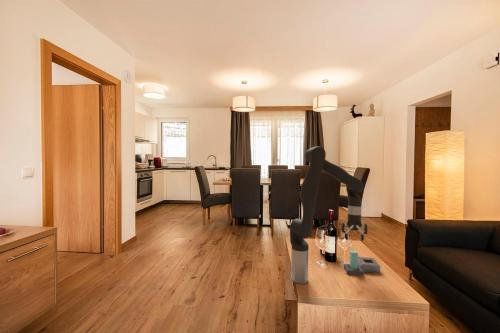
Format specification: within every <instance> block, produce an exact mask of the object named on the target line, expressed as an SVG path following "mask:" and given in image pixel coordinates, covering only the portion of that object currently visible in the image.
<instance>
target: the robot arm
mask: <svg viewBox="0 0 500 333" xmlns="http://www.w3.org/2000/svg"><path fill="white" fill-rule="evenodd" d="M326 155H327V153H326V150H325V148H324V147H323V146H320V145H319V146H313V147H310V148H309V149H307V150H306V151H305V153H304V157H305V160H306V161H307V162H308V163H309V169H308V172H307V173H306V175H305V177H304V178H303V180H302V183H301V187H300V191H299V199H300V202H301V206H302V211H303V212H302V218H301V219H300V218H295V219H292V221H291V222H290V226H289V240H290V241H289V242H290V244H291V245H290V246H291V262H290V264H291V265H290V272H291V273H290V280H291V281H292V282H293V283H294V284H295V283H296V284H304V285H305V284H306V283H308V282H309V244H308V242H307V241H306V240H307V239H309V237H310V236H311V235H312V231H313V227H314V226H313V225H314V215H315V208H316V201H317V196H318V192H319V186H320V185H319V184H320V181H321V175H322V170H323V171H324V172H326V173H327V174H329V175H330V176H331V177H333V178H334V179H336V180H337V181H338V182H339V183H341V184H343V185H345V188H346V189H345V191H346V194H347V198H348V200H347V202H348V203H347V222H344V221H342V222H341V228H340V231H341V233H342V234H343V233H344V234H343V235H344V239H345V240H346V241H348V233H349V232H350V231H359V233H360V238H359V239H360V241H361V242H363V241H364V240H365V235H367V234H368V224H367V223H366V222H364V223H363V222H362V198H361V196H360V195H359V194H358V193H361V192H362V191H364V188H365V185H364V183H363V181H362V180H360V179H359V178H357V177H355V176H353V175H352V174H350V173H349V172H347V171H346V170H345V169H343V168H342V167H341V166H338V165H337V164H334V163H332V162H330V161H329V160H327V159H326V158H327V157H326ZM346 226H347V227H346ZM345 227H346V228H345ZM361 227H363V230H362V229H361ZM305 239H306V240H305Z"/></svg>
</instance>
